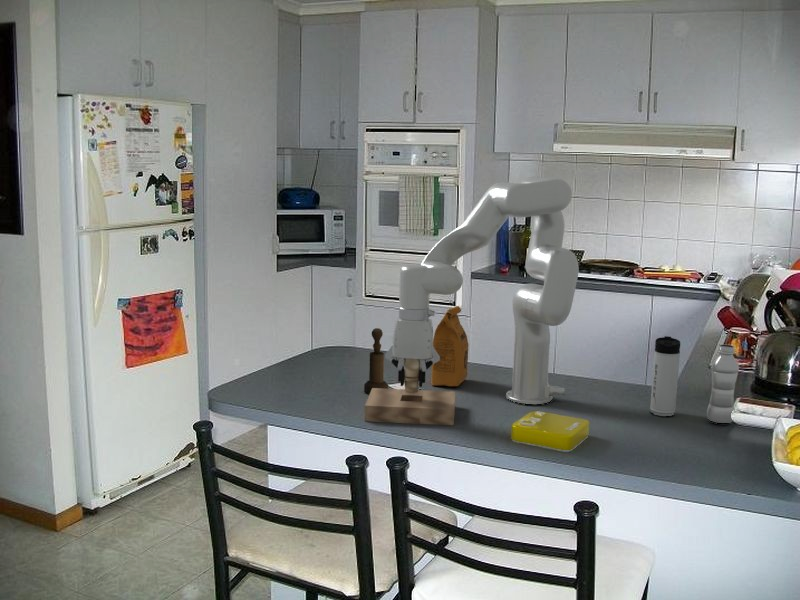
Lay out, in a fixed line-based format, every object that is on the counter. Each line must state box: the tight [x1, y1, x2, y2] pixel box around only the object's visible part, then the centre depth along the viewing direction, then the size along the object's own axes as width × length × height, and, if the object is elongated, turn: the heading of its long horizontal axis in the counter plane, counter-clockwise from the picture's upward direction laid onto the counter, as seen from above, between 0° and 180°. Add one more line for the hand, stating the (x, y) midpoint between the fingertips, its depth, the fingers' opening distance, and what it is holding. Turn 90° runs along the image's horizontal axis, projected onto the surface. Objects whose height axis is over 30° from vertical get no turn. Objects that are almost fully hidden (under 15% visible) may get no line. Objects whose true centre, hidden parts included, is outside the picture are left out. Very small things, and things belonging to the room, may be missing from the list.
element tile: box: [510, 410, 590, 450], centre depth 206 cm, size 15×15×5 cm
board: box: [364, 388, 456, 426], centre depth 222 cm, size 22×16×4 cm
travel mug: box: [649, 335, 681, 414], centre depth 226 cm, size 6×7×20 cm
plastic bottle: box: [706, 344, 740, 424], centre depth 219 cm, size 6×7×20 cm
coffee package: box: [430, 305, 469, 387], centre depth 250 cm, size 10×12×22 cm
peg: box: [403, 359, 421, 393], centre depth 221 cm, size 4×4×10 cm
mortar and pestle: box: [363, 327, 389, 395], centre depth 240 cm, size 7×6×18 cm
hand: (411, 384), depth 221 cm, fingers closed on peg, 4 cm apart
